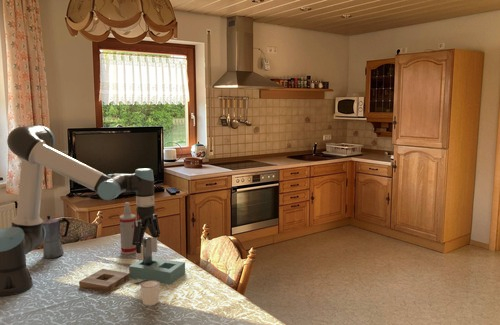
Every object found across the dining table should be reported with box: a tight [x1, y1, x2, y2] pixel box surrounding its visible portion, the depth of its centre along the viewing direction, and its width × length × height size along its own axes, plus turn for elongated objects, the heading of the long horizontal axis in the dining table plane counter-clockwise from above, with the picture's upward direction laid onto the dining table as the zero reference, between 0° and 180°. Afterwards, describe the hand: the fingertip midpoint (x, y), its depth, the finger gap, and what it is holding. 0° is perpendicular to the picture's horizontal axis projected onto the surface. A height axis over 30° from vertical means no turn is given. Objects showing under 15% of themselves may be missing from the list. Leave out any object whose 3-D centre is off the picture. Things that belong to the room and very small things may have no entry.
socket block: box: [78, 268, 131, 293], centre depth 173 cm, size 14×14×2 cm
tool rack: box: [128, 257, 186, 285], centre depth 180 cm, size 12×20×5 cm, turn 70°
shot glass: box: [140, 280, 160, 306], centre depth 156 cm, size 7×7×7 cm
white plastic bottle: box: [119, 201, 137, 255], centre depth 209 cm, size 8×8×25 cm
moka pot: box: [42, 215, 71, 259], centre depth 204 cm, size 10×15×20 cm, turn 115°
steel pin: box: [142, 236, 153, 266], centre depth 181 cm, size 4×4×16 cm
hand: (147, 255), depth 181 cm, fingers open, 10 cm apart
